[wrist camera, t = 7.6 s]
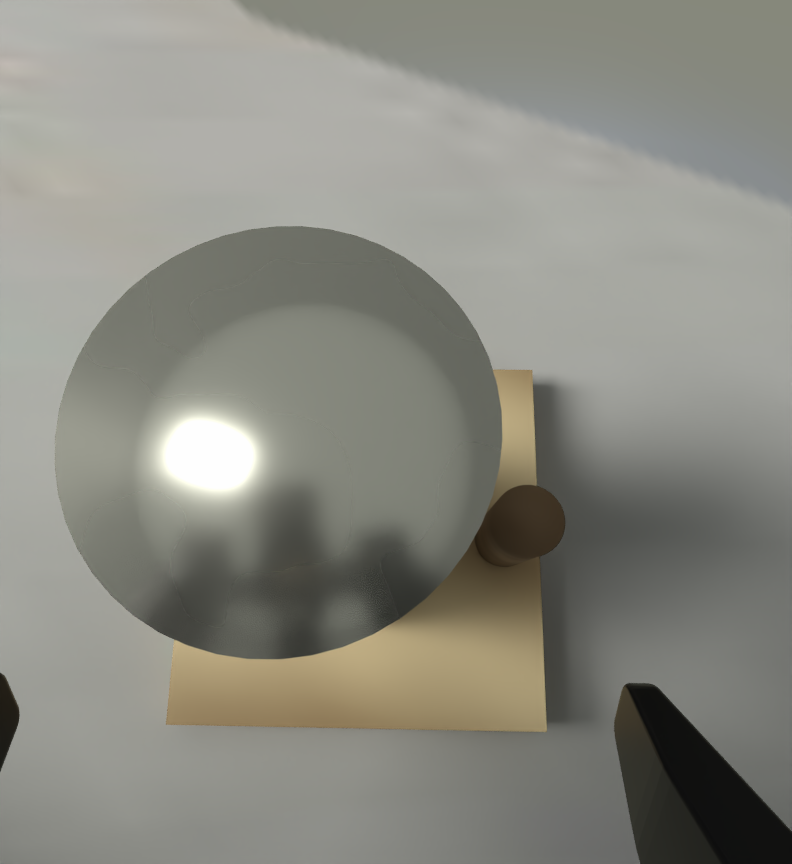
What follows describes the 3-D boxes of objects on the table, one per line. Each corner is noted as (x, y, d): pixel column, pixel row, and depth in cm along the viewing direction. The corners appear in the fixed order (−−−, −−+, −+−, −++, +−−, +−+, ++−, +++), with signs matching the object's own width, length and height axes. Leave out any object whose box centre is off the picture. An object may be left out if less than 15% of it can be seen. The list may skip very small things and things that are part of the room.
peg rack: (537, 723, 18) (587, 770, 13) (181, 716, 18) (95, 760, 13) (525, 383, 21) (562, 312, 16) (212, 380, 21) (149, 310, 16)
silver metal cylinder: (474, 564, 18) (594, 486, 6) (334, 660, 17) (188, 762, 6) (384, 431, 19) (348, 158, 8) (249, 517, 18) (-19, 365, 7)
